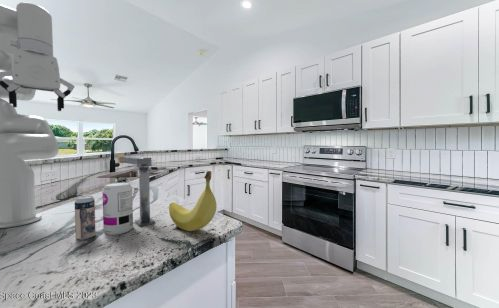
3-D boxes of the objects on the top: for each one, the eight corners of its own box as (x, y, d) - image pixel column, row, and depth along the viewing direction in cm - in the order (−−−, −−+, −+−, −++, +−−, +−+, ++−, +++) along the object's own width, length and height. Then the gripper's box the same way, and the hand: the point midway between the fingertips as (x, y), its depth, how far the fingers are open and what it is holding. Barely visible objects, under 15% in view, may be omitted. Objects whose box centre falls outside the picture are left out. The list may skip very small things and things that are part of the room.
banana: (163, 224, 77) (162, 167, 76) (178, 220, 81) (177, 165, 80) (205, 243, 62) (205, 172, 61) (221, 236, 67) (220, 170, 66)
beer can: (85, 241, 63) (83, 199, 63) (71, 239, 64) (70, 198, 64) (99, 234, 68) (98, 195, 67) (86, 233, 69) (85, 195, 68)
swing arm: (153, 166, 77) (153, 157, 77) (139, 167, 74) (139, 157, 74) (127, 162, 96) (126, 155, 96) (114, 163, 92) (114, 155, 92)
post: (135, 223, 78) (134, 167, 77) (149, 219, 82) (148, 166, 81) (140, 226, 74) (139, 168, 74) (155, 223, 78) (154, 167, 77)
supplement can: (102, 237, 66) (100, 187, 65) (105, 228, 73) (104, 183, 73) (133, 232, 70) (132, 185, 69) (133, 224, 77) (132, 181, 76)
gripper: (-11, 35, 57) (-8, 103, 57) (75, 55, 69) (76, 110, 69) (-7, 45, 62) (-5, 106, 63) (71, 61, 74) (73, 113, 75)
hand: (38, 108), depth 66 cm, fingers open, 9 cm apart
